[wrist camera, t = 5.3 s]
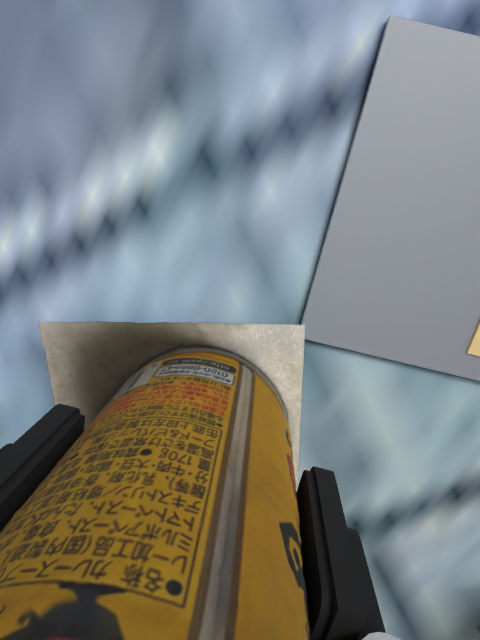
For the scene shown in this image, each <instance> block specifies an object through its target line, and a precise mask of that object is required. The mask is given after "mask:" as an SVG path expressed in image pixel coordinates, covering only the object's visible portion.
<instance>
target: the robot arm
mask: <svg viewBox="0 0 480 640" xmlns="http://www.w3.org/2000/svg"><path fill="white" fill-rule="evenodd" d="M84 425H85V416H84V415H82V414H80V409H79V408H76V407H72V406H68V405H64V404H57V405H56V406H54V407H53V408H52V409H51V410H50V411H49V412H48V413H47V414H46V415H44V416H43V417H42V418H41V419H40V420H39V421H38V422H37V423H36V424H35V425H33V426H32V427H31V428H30V429H29V430H28V431H27V432H26V433H25V434H24V435H22V436H21V437H20V438H19V439H18V440H17V441H16V442H15V443H14V444H7V445H5V446H4V447H2V448H1V449H0V532H1V531H2V530H3V528H4V527H5V526H6V524H7V523H8V522H9V521H10V520H11V519H12V517H13V515H14V513H15V512H16V511H18V510H19V509H20V508H21V507H22V505H23V504H24V503H25V502H26V501H27V500H28V498H29V497H30V496H31V495H32V494H33V493H34V491H35V490H36V489H37V487H38V486H39V485H40V484H41V483H42V482H43V481H44V479H45V478H46V477H47V476H48V474H49V473H50V472H51V470H52V469H53V468H54V467H55V466H56V464H57V463H58V462H59V461H60V460H61V458H62V457H63V456H64V455H65V453H66V452H67V451H68V450H69V448H70V447H71V446H72V445H73V444H74V442H75V441H76V440H77V439H78V438H79V437H80V435H81V434H82V433H83V432H84ZM296 497H297V502H298V512H299V519H300V524H299V527H300V537H301V551H302V563H303V576H304V579H305V585H306V594H307V605H308V620H309V624H310V636H311V637H310V640H401V639H399V638H397V637H395V636H393V635H391V634H388V633H386V632H385V628H384V625H383V621H382V617H381V614H380V610H379V606H378V602H377V599H376V595H375V591H374V588H373V584H372V580H371V576H370V573H369V569H368V565H367V562H366V558H365V554H364V550H363V547H362V543H361V539H360V536H359V534H358V532H357V531H356V529H352V528H348V527H347V526H346V521H345V517H344V513H343V509H342V504H341V500H340V496H339V492H338V488H337V483H336V479H335V475H334V472H333V471H330V470H326V469H322V468H318V467H314V466H313V467H312V468H311V470H310V471H307V470H304V472H303V474H302V477H301V480H300V483H299V486H298V489H297V492H296Z"/></svg>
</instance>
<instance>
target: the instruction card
mask: <svg viewBox="0 0 480 640" xmlns="http://www.w3.org/2000/svg"><path fill="white" fill-rule="evenodd" d="M300 325H305V338H304V339H306V340H310V341H314V342H319V343H323V344H327V345H331V346H335V347H339V348H344V349H348V350H352V351H356V352H360V353H364V354H369V355H373V356H377V357H381V358H385V359H389V360H394V361H398V362H402V363H406V364H410V365H414V366H419V367H423V368H427V369H431V370H435V371H440V372H444V373H448V374H452V375H456V376H460V377H465V378H469V379H473V380H477V381H480V37H479V36H475V35H471V34H467V33H463V32H459V31H455V30H450V29H446V28H442V27H438V26H434V25H430V24H426V23H422V22H417V21H413V20H409V19H405V18H401V17H397V16H393V15H390V17H389V18H388V20H387V23H386V27H385V30H384V34H383V37H382V41H381V44H380V48H379V51H378V55H377V58H376V62H375V65H374V69H373V72H372V76H371V79H370V83H369V86H368V90H367V93H366V97H365V100H364V104H363V107H362V111H361V114H360V118H359V121H358V125H357V128H356V132H355V135H354V139H353V142H352V146H351V149H350V153H349V156H348V160H347V163H346V167H345V170H344V174H343V177H342V181H341V184H340V188H339V191H338V195H337V198H336V202H335V205H334V209H333V212H332V216H331V219H330V223H329V226H328V230H327V233H326V237H325V240H324V244H323V247H322V251H321V254H320V258H319V261H318V265H317V268H316V272H315V275H314V279H313V282H312V286H311V289H310V292H309V296H308V299H307V303H306V306H305V310H304V313H303V317H302V320H301V324H300Z"/></svg>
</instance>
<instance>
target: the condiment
mask: <svg viewBox="0 0 480 640" xmlns="http://www.w3.org/2000/svg"><path fill="white" fill-rule="evenodd" d="M38 323H39V327H40V332H41V339H42V343H43V346H44V349H45V352H46V360H47V365H48V371H49V376H50V384H51V389H52V393H53V398H54V403H55V406H56V405H57V404H64V405H68V406H72V407H76V408H79V409H80V414H82V415H84V416H85V425H84V432H83V433H82V434H81V435H80V437H79V438H78V439H77V440H76V441H75V442H74V444H73V445H72V446H71V447H70V448H69V450H68V451H67V452H66V453H65V455H64V456H63V457H62V458H61V460H60V461H59V462H58V463H57V464H56V466H55V467H54V468H53V469H52V470H51V472H50V473H49V474H48V476H47V477H46V478H45V479H44V481H43V482H42V483H41V484H40V485H39V486H38V487H37V489H36V490H35V491H34V493H33V494H32V495H31V496H30V497H29V498H28V500H27V501H26V502H25V503H24V504H23V505H22V507H21V508H20V509H19V510H18V511H16V512H15V513H14V515H13V517H12V519H11V520H10V521H9V522H8V523H7V524H6V526H5V527H4V528H3V530H2V531H1V532H0V640H310V637H311V636H310V624H309V620H308V605H307V594H306V585H305V579H304V576H303V563H302V551H301V537H300V527H299V524H300V519H299V512H298V502H297V497H296V492H297V489H298V468H299V444H300V422H301V399H302V381H303V359H304V338H305V325H284V324H249V323H238V324H229V323H167V322H162V323H132V322H38Z"/></svg>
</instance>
